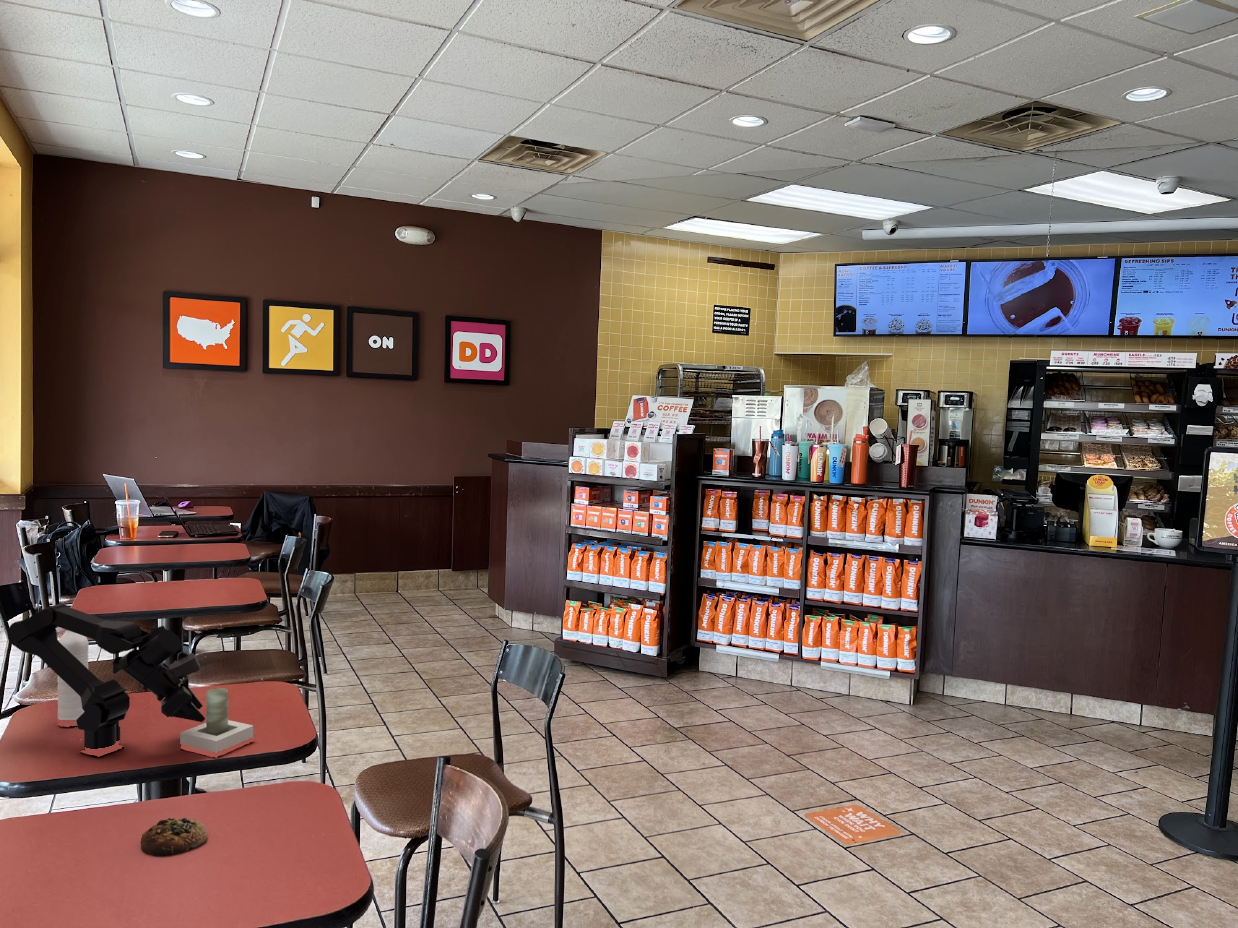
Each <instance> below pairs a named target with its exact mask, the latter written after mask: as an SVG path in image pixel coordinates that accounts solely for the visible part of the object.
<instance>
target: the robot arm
mask: <svg viewBox="0 0 1238 928" xmlns="http://www.w3.org/2000/svg"><path fill="white" fill-rule="evenodd" d="M57 628H60V629H63V630H69V631H71V632H74V633H77V634H80V635H82V636H85V637H86V638H87V639H91V640H93V641H94V642H95V643H96V644H97V646H98V647H99V648H100V649H102V650H104V651H106V652H107V653H109V654H111V655H117V654H120V653H123V652H127V651H129V652H128V653H126V654H125V655H123V656H116V657H115V658H114V660H113V661H112V662H111V663H112V673H113V674H114V675H115V674H117V673H118V672H119V671H123V672H125V673H126V674H127V675H129V677H131V678H132V679H134V680H135V681H136V682H138V683H139V684H140V685H141V688H142V689H144V691H147V690H148V691H149V692H151V693H152V694H154V695H155V696H156V699H157V701H159V702H160V711H161V714H163V715H164V716H165V717H167V718H178V719H183V720H189V721H195V722H199V723H203V722H204V721H205V720H206V716H204V714H203V713H201V711H200V709H201V708H202V707H203V706H204V705H203V703H202V702H201V701H200V700H199V698H198V697H197V696H196V695H195V694H194V691H192V690H191V687H190V686H189V685H190V683H189V682H190V679H189V675H191V674H193V673H196V672H197V673H198V671H200V670H201V665H200V663H199V660H198V658H197V657H196V655H195V654H194V652H193V653H192V652H190V653H188V652H187V651H185V650H183V651H180V649H181V648H182V640H181V638H180V636H179V635H178V634H176V633H175V632H174V631H172V630H170V629H166V627H165V626H164V625H161V626H158V627H155V628H154V629H153V630H152V631H151V632H149V631H147V630H145V629H143V628H141V626H140V625H139V624H137V623H135V622H131V621H123V620H121V621H120V620H115V621H114V620H106V619H103V618H100V617H97V616H95V615H92V614H89V613H87V612H84V611H80V610H78V609H75V608H72V607H69V605H67V604H64V603H58V604H54V605H50V606H47V607H45V608H44V609H41V610H40V611H38V612H37V613H35V614H33V615H30V616H29V617H27V618H25V619H22V620H18V621H14V622H12V623H11V625H9V628H8V631H7V639H8V642H9V643H10V644H11V645H12V646H13V647H15V648H16V649H18V650H20V651H21V652H23V653H27V654H30V655H33V656H37V657H38V658H39V659H40V660H41V661H43V663H45V664H46V666H48V667H49V668H50V670H52V671H53V672H54V674H56V675H57V677H58V676H59V677H60V678H61V679H62V680H63V681H65V682H66V683H67V684H68V685H69V686H70V687H71V688H72V689H73V690H74V691H75V692H76V693H77V694H78V695H79V696H80V697H81V703H82V709H83V710H84V713H83V714H82V715H81V716H80V717H79V718H78V719H77V720H76V723H77V726H78V727H77V728H78V730H80V731H83V732H84V733H83V735H84V737H83V738H84V741H83V745H84V747H86V748H90V749H98V748H105V747H109V746H112V745H114V744H115V743H116V741H119V740H120V741H121V726H120V721H123V720H125V719H126V715H127V712H128V711H129V709H130V705H131V703H130V701H131V700H130V699H131V697H130V696H129V694H128V693H127V688H124V687H123V686H121V684H120V683H119V682H118V681H117V680H116V679H110V680H107V681H102V680H100V679H99V678H98V677H97V676H96V675H95V674H94V673H93V672H92V671H91V670H89V668H88V669H87V668H86V667H85V666H84V665H83V664H82V663H81V662H80V661H79V660H78V659H77V658H76V657H75V656H74V655H72V654H71V653H70V652H69V651H68V650H67V649H66V648H65V647H64V646H63V645H62V644H61V643H60V642H59V640H58V630H57ZM136 648H138V649H136ZM178 651H180V652H179V653H178ZM176 653H177V660H174V661H173V663H171V664H168V663H167V662H165V661H166V660H168V659H169V658H171V656H173V655H175V654H176ZM84 747H83V748H84Z"/></svg>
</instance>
